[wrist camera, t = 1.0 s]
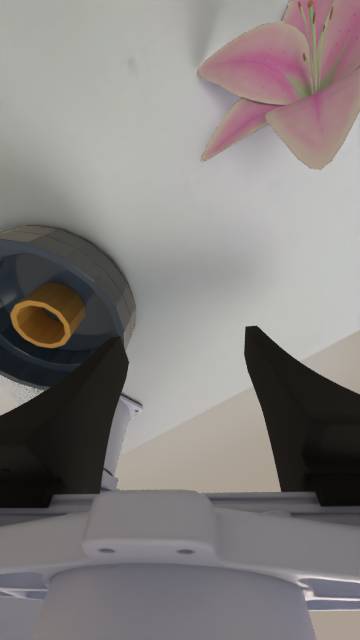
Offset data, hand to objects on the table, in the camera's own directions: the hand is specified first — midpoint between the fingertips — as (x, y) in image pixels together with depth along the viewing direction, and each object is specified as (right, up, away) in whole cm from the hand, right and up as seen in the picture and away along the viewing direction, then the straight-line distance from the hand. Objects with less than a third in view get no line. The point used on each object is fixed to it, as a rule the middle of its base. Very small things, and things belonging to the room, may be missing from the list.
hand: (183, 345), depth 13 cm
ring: (-12, +3, +10) cm, 16 cm away
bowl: (-12, +3, +10) cm, 16 cm away
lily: (+6, +16, +1) cm, 17 cm away
